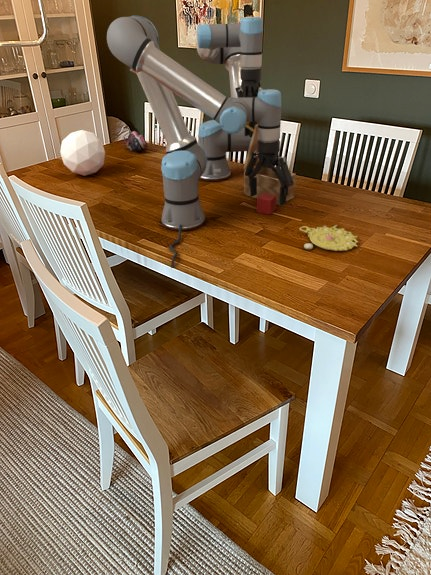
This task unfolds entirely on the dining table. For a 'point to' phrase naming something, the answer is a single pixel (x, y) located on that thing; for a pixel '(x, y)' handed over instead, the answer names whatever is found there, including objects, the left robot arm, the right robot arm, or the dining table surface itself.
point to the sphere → (82, 152)
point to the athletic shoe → (135, 142)
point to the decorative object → (330, 238)
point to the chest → (269, 184)
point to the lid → (252, 144)
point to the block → (266, 203)
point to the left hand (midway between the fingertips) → (267, 199)
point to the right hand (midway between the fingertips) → (249, 135)
